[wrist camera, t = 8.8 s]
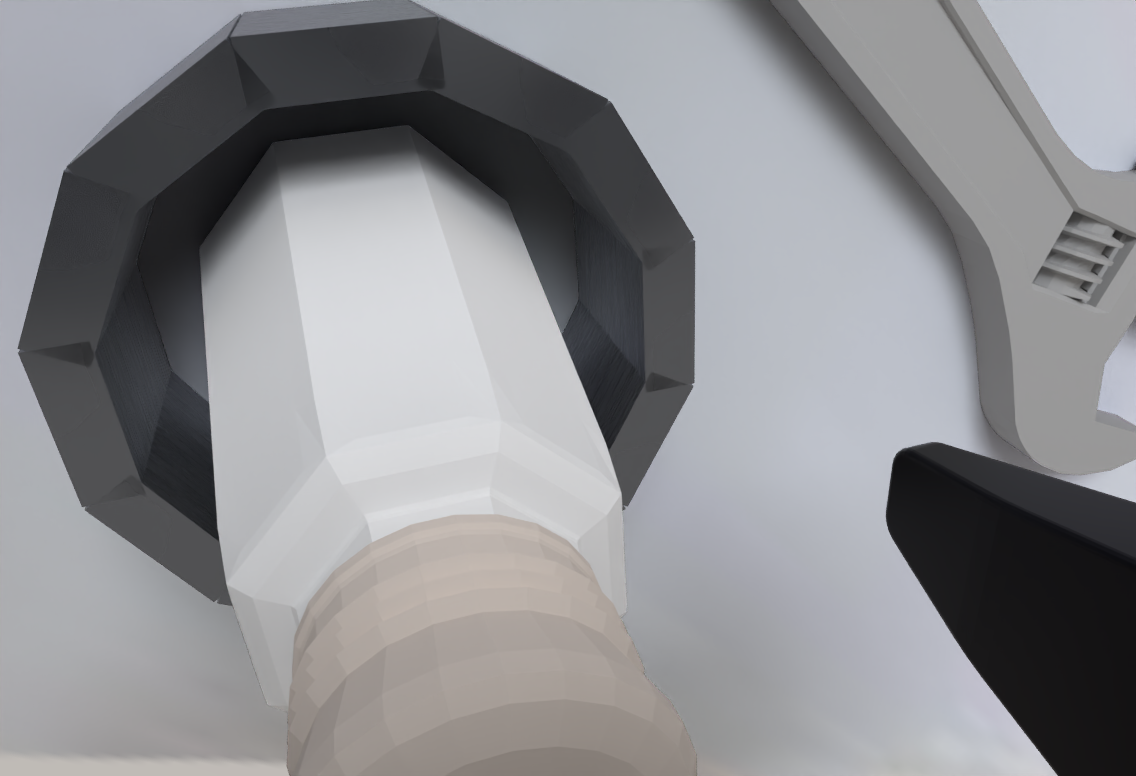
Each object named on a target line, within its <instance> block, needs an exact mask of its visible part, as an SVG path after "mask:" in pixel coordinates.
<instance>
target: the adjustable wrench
mask: <svg viewBox="0 0 1136 776" xmlns="http://www.w3.org/2000/svg"><path fill="white" fill-rule="evenodd" d="M769 1H770V2H771V3H772V4H773V6H774V7H775V8H776V9H777V11H778V12H779V13H780V14H781V15H782V17H783V18H784V19H785V20H786V22H787V23H788V24H789V25H790V27H791V28H792V29H793V30H794V31H795V33H796V34H797V35H798V36H799V38H800V39H801V40H802V41H803V43H804V44H805V45H806V46H807V48H808V49H809V50H810V51H811V52H812V54H813V55H814V56H815V57H816V59H817V60H818V61H819V62H820V64H821V65H822V66H823V67H824V68H825V70H826V71H827V72H828V73H829V75H830V76H831V77H832V78H833V80H834V81H835V82H836V83H837V85H838V86H839V87H840V88H841V89H842V91H843V92H844V93H845V94H846V96H847V97H848V98H849V99H850V101H851V102H852V103H853V104H854V105H855V107H856V108H857V109H858V110H859V112H860V113H861V114H862V115H863V117H864V118H865V119H866V120H867V122H868V123H869V124H870V125H871V126H872V128H873V129H874V130H875V131H876V133H877V134H878V135H879V136H880V138H881V139H882V140H883V141H884V142H885V144H886V145H887V146H888V147H889V149H890V150H891V151H892V152H893V154H894V155H895V156H896V157H897V159H898V160H899V161H900V162H901V163H902V165H903V166H904V167H905V168H906V170H907V171H908V172H909V173H910V175H911V176H912V177H913V178H914V179H915V181H916V182H917V183H918V184H919V186H920V187H921V188H922V189H923V191H924V192H925V193H926V194H927V196H928V197H929V198H930V199H931V200H932V202H933V203H934V204H935V205H936V207H937V209H938V210H939V212H940V213H941V215H942V217H943V218H944V220H945V222H946V223H947V225H948V227H949V228H950V230H951V232H952V234H953V237H954V240H955V243H956V246H957V249H958V252H959V255H960V258H961V260H962V265H963V270H964V275H965V279H966V284H967V289H968V294H969V299H970V304H971V308H972V315H973V322H974V329H975V338H976V352H977V366H978V381H979V395H980V403H981V406H982V409H983V412H984V415H985V417H986V419H987V420H988V422H989V424H990V425H991V427H992V428H993V430H994V431H995V432H996V434H998V435H999V436H1000V437H1001V438H1003V439H1004V440H1005V441H1007V442H1008V443H1009V444H1011V445H1012V446H1014V447H1015V448H1017V449H1018V450H1019V451H1021V452H1022V453H1024V454H1025V455H1026V456H1028V457H1029V458H1031V459H1032V460H1034V461H1035V462H1036V463H1038V464H1039V465H1041V466H1043V467H1046V468H1048V469H1050V470H1053V471H1055V472H1058V473H1060V474H1071V475H1085V474H1091V473H1098V472H1104V471H1111V470H1113V469H1115V468H1117V467H1120V466H1122V465H1124V464H1126V463H1129V462H1131V461H1133V460H1135V459H1136V426H1135V425H1133V424H1132V423H1130V422H1128V421H1126V420H1125V419H1123V418H1121V417H1119V416H1118V415H1115V414H1111V413H1108V412H1104V411H1101V410H1097V407H1098V401H1099V395H1100V389H1101V382H1102V376H1103V370H1104V364H1105V363H1106V361H1107V360H1108V358H1109V357H1110V355H1111V354H1112V352H1113V351H1114V349H1115V348H1116V346H1117V345H1118V343H1119V342H1120V340H1121V339H1122V337H1123V335H1124V334H1125V332H1126V331H1127V329H1128V328H1129V326H1130V324H1131V323H1132V321H1133V320H1134V318H1135V316H1136V169H1134V170H1130V171H1120V172H1112V171H1103V170H1095V169H1091V168H1090V167H1089V166H1087V165H1086V164H1085V163H1084V162H1082V161H1081V160H1080V159H1079V158H1077V157H1076V156H1075V155H1074V154H1073V153H1072V151H1071V150H1070V149H1069V148H1068V147H1067V145H1066V144H1065V143H1064V142H1063V141H1062V139H1061V138H1060V137H1059V136H1058V135H1057V133H1056V131H1055V130H1054V128H1053V126H1052V125H1051V123H1050V121H1049V120H1048V118H1047V116H1046V115H1045V113H1044V112H1043V110H1042V108H1041V107H1040V105H1039V103H1038V102H1037V100H1036V98H1035V97H1034V95H1033V93H1032V92H1031V90H1030V88H1029V87H1028V85H1027V83H1026V82H1025V80H1024V78H1023V77H1022V75H1021V73H1020V72H1019V70H1018V68H1017V67H1016V65H1015V63H1014V62H1013V60H1012V58H1011V57H1010V55H1009V53H1008V52H1007V50H1006V48H1005V47H1004V45H1003V43H1002V42H1001V40H1000V38H999V37H998V35H997V33H996V32H995V30H994V28H993V27H992V25H991V23H990V22H989V20H988V19H987V17H986V15H985V14H984V12H983V10H982V9H981V7H980V5H979V4H978V2H977V0H769Z"/></svg>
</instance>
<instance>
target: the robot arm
mask: <svg viewBox="0 0 1136 776" xmlns="http://www.w3.org/2000/svg"><path fill="white" fill-rule="evenodd" d="M886 522H887V526H888V530H889V532H890V535H891V537H892V539H893V541H894V542H895V544H896V545H897V547H898V549H899V550H900V552H901V553H902V555H903V557H904V558H905V560H906V561H907V563H908V565H909V566H910V568H911V569H912V571H913V573H914V574H915V576H916V577H917V579H918V581H919V582H920V584H921V585H922V587H923V589H924V590H925V592H926V593H927V595H928V597H929V598H930V600H931V601H932V603H933V605H934V606H935V608H936V609H937V611H938V613H939V614H940V616H941V617H942V619H943V621H944V622H945V624H946V625H947V627H948V629H949V630H950V632H951V633H952V635H953V637H954V638H955V640H956V641H957V643H958V644H959V646H960V647H961V649H962V650H963V652H964V653H965V655H966V656H967V658H968V659H969V660H970V662H971V663H972V665H973V666H974V667H975V669H976V670H977V671H978V673H979V674H980V675H981V677H982V678H983V679H984V681H985V682H986V683H987V685H988V686H989V687H990V689H991V690H992V691H993V692H994V694H995V695H996V696H997V698H998V699H999V700H1000V701H1001V703H1002V704H1003V705H1004V707H1005V708H1006V709H1007V711H1008V712H1009V713H1010V714H1011V716H1012V717H1013V718H1014V720H1015V721H1016V722H1017V723H1018V725H1019V726H1020V727H1021V729H1022V730H1023V731H1024V733H1025V734H1026V735H1027V736H1028V738H1029V739H1030V740H1031V742H1032V743H1033V744H1034V745H1035V747H1036V748H1037V749H1038V751H1039V752H1040V753H1041V755H1042V756H1043V757H1044V758H1045V760H1046V761H1047V762H1048V764H1049V765H1050V766H1051V767H1052V769H1053V770H1054V771H1055V773H1056V774H1057V775H1058V776H1136V503H1135V502H1131V501H1128V500H1125V499H1122V498H1118V497H1115V496H1112V495H1109V494H1105V493H1102V492H1099V491H1096V490H1092V489H1089V488H1086V487H1083V486H1079V485H1076V484H1073V483H1070V482H1066V481H1063V480H1060V479H1057V478H1053V477H1050V476H1047V475H1044V474H1040V473H1037V472H1034V471H1031V470H1027V469H1024V468H1021V467H1018V466H1014V465H1011V464H1008V463H1005V462H1001V461H998V460H995V459H991V458H988V457H985V456H982V455H978V454H975V453H972V452H969V451H965V450H962V449H959V448H956V447H952V446H949V445H946V444H943V443H939V442H930V443H925V444H921V445H917V446H912V447H908V448H904V449H902V450H900V451H899V452H898V453H897V454H896V456H895V458H894V460H893V464H892V472H891V479H890V486H889V493H888V501H887V508H886Z"/></svg>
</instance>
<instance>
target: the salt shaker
mask: <svg viewBox="0 0 1136 776" xmlns="http://www.w3.org/2000/svg"><path fill="white" fill-rule="evenodd" d="M199 253H200V269H201V284H202V299H203V314H204V330H205V345H206V360H207V375H208V390H209V406H210V421H211V436H212V451H213V467H214V482H215V497H216V512H217V527H218V534H219V541H220V547H221V553H222V560H223V566H224V572H225V578H226V585H227V588H228V592H229V596H230V599H231V602H232V605H233V608H234V611H235V614H236V617H237V620H238V623H239V626H240V629H241V632H242V635H243V638H244V640H245V643H246V646H247V649H248V652H249V655H250V658H251V661H252V664H253V667H254V670H255V673H256V676H257V679H258V681H259V684H260V687H261V690H262V692H263V695H264V698H265V700H266V703H267V705H268V706H271V707H274V708H277V709H280V710H283V711H286V712H288V722H287V723H288V736H287V745H288V752H287V769H288V772H289V775H290V776H697V755H696V752H695V750H694V748H693V745H692V743H691V740H690V738H689V735H688V733H687V731H686V728H685V726H684V723H683V722H682V720H681V718H680V716H679V715H678V713H677V711H676V710H675V708H674V706H673V705H672V703H671V701H670V700H669V699H668V698H667V697H666V696H665V695H664V694H663V693H662V692H661V691H660V690H659V689H658V688H657V687H656V686H655V685H654V684H653V683H652V682H651V681H650V680H649V679H648V678H647V677H646V676H645V675H644V667H643V664H642V662H641V660H640V657H639V655H638V653H637V650H636V648H635V646H634V643H633V641H632V639H631V637H630V636H629V635H628V633H627V630H626V628H625V626H624V624H623V621H622V620H621V618H622V617H623V616H624V615H625V614H626V613H627V595H626V574H625V553H624V533H623V512H622V493H621V490H620V487H619V484H618V481H617V477H616V474H615V471H614V468H613V464H612V461H611V458H610V455H609V452H608V448H607V445H606V443H605V440H604V438H603V435H602V433H601V430H600V428H599V425H598V423H597V420H596V418H595V416H594V413H593V411H592V408H591V406H590V403H589V401H588V398H587V396H586V393H585V391H584V389H583V386H582V384H581V381H580V379H579V376H578V374H577V371H576V369H575V366H574V364H573V362H572V359H571V357H570V354H569V352H568V349H567V347H566V344H565V342H564V339H563V337H562V335H561V332H560V330H559V327H558V325H557V322H556V320H555V317H554V315H553V312H552V310H551V308H550V305H549V303H548V300H547V298H546V295H545V293H544V290H543V288H542V285H541V283H540V281H539V278H538V276H537V273H536V271H535V268H534V266H533V263H532V261H531V258H530V256H529V254H528V251H527V249H526V246H525V244H524V241H523V239H522V236H521V234H520V231H519V229H518V227H517V224H516V222H515V219H514V217H513V214H512V212H511V209H510V207H509V204H508V202H507V201H506V200H504V199H503V198H502V197H500V196H499V195H498V194H497V193H495V192H494V191H493V190H491V189H490V188H489V187H488V186H486V185H485V184H484V183H482V182H481V181H480V180H478V179H477V178H476V177H475V176H473V175H472V174H471V173H469V172H468V171H467V170H466V169H464V168H463V167H462V166H460V165H459V164H458V163H456V162H455V161H454V160H453V159H451V158H450V157H449V156H447V155H446V154H445V153H444V152H442V151H441V150H440V149H438V148H437V147H436V146H434V145H433V144H432V143H431V142H429V141H428V140H427V139H425V138H424V137H423V136H422V135H420V134H419V133H418V132H416V131H415V130H414V129H412V128H411V127H410V126H409V125H404V126H396V127H388V128H380V129H372V130H364V131H357V132H349V133H341V134H333V135H325V136H317V137H310V138H302V139H294V140H286V141H278V142H273V143H272V145H271V146H270V147H269V149H268V150H267V152H266V153H265V155H264V156H263V157H262V159H261V160H260V162H259V163H258V165H257V166H256V167H255V169H254V170H253V172H252V173H251V175H250V176H249V177H248V179H247V180H246V182H245V183H244V185H243V186H242V187H241V189H240V190H239V192H238V193H237V195H236V196H235V198H234V199H233V200H232V202H231V203H230V205H229V206H228V208H227V209H226V210H225V212H224V213H223V215H222V216H221V218H220V219H219V220H218V222H217V223H216V225H215V226H214V228H213V229H212V230H211V232H210V233H209V235H208V236H207V238H206V239H205V240H204V242H203V243H202V245H201V246H200V248H199Z"/></svg>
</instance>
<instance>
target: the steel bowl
mask: <svg viewBox="0 0 1136 776" xmlns="http://www.w3.org/2000/svg"><path fill="white" fill-rule="evenodd" d="M426 90H432V91H434V92H436V93H438V94H441V95H443V96H445V97H447V98H449V99H452V100H454V101H456V102H458V103H460V104H463V105H465V106H467V107H469V108H472V109H474V110H476V111H478V112H480V113H483V114H485V115H487V116H489V117H492V118H494V119H496V120H498V121H500V122H503V123H505V124H507V125H509V126H512V127H514V128H516V129H518V130H520V131H523V132H525V133H527V134H529V135H530V136H531V138H532V139H533V141H534V142H535V144H536V145H537V147H538V148H539V150H540V151H541V153H542V154H543V155H544V157H545V158H546V160H547V161H548V163H549V164H550V166H551V167H552V169H553V170H554V171H555V173H556V174H557V176H558V177H559V179H560V180H561V182H562V183H563V185H564V186H565V187H566V189H567V190H568V192H569V193H570V195H571V196H572V198H573V209H574V225H575V240H576V256H577V271H578V286H579V301H578V303H577V305H576V307H575V310H574V312H573V314H572V316H571V318H570V320H569V322H568V324H567V326H566V328H565V330H564V332H563V334H562V337H563V339H564V342H565V344H566V347H567V349H568V352H569V354H570V357H571V359H572V362H573V364H574V366H575V369H576V371H577V374H578V376H579V379H580V381H581V384H582V386H583V389H584V391H585V393H586V396H587V398H588V401H589V403H590V406H591V408H592V411H593V413H594V416H595V418H596V420H597V423H598V425H599V428H600V430H601V433H602V435H603V438H604V440H605V443H606V445H607V448H608V452H609V455H610V458H611V461H612V464H613V468H614V471H615V474H616V477H617V481H618V484H619V487H620V490H621V493H622V511H623V510H625V507H624V505H625V506H628V505H629V503H630V501H631V499H632V498H633V496H634V494H635V492H636V490H637V488H638V487H639V485H640V483H641V481H642V479H643V477H644V476H645V474H646V472H647V470H648V468H649V467H650V465H651V463H652V461H653V459H654V457H655V456H656V454H657V452H658V450H659V448H660V446H661V445H662V443H663V441H664V439H665V437H666V436H667V434H668V432H669V430H670V428H671V426H672V425H673V423H674V421H675V419H676V417H677V415H678V414H679V412H680V410H681V408H682V406H683V404H684V403H685V401H686V399H687V397H688V395H689V394H690V392H691V390H692V388H693V385H692V383H694V345H695V241H694V240H693V238H694V237H693V235H692V234H691V232H690V230H689V229H688V227H687V225H686V224H685V222H684V220H683V219H682V217H681V216H680V214H679V212H678V211H677V209H676V207H675V206H674V204H673V202H672V201H671V199H670V198H669V196H668V194H667V193H666V191H665V189H664V188H663V186H662V184H661V183H660V181H659V180H658V178H657V176H656V175H655V173H654V171H653V170H652V168H651V166H650V165H649V163H648V162H647V160H646V158H645V157H644V155H643V153H642V152H641V150H640V149H639V147H638V145H637V144H636V142H635V140H634V139H633V137H632V135H631V134H630V132H629V131H628V129H627V127H626V126H625V124H624V122H623V121H622V119H621V117H620V116H619V114H618V113H617V111H616V109H615V108H614V106H613V104H612V103H611V102H610V101H608V99H606V98H604V97H602V96H601V95H599V94H597V93H595V92H593V91H591V90H589V89H587V88H585V87H583V86H581V85H579V84H577V83H575V82H573V81H571V80H570V79H568V78H566V77H564V76H562V75H560V74H558V73H556V72H554V71H552V70H550V69H548V68H546V67H544V66H542V65H540V64H538V63H536V62H534V61H532V60H530V59H528V58H526V57H524V56H522V55H520V54H518V53H516V52H514V51H512V50H510V49H508V48H506V47H504V46H502V45H500V44H498V43H496V42H494V41H492V40H490V39H488V38H486V37H484V36H482V35H480V34H478V33H475V32H473V31H471V30H469V29H467V28H465V27H463V26H461V25H459V24H457V23H455V22H453V21H451V20H449V19H447V18H445V17H443V16H441V15H439V14H437V13H435V12H433V11H431V10H429V9H427V8H425V7H423V6H421V5H419V4H417V3H415V2H413V1H411V0H372V1H361V2H350V3H340V4H329V5H318V6H308V7H297V8H286V9H275V10H265V11H254V12H244V13H243V15H241V14H240V15H238V16H237V17H236V18H235V19H233V20H232V21H231V22H230V23H228V24H227V25H226V26H225V27H223V28H222V29H221V30H220V31H218V32H217V33H216V34H215V35H213V36H212V37H211V38H210V39H209V40H207V41H206V42H205V43H204V44H202V45H201V46H200V47H199V48H197V49H196V50H195V51H194V52H192V53H191V54H190V55H189V56H187V57H186V58H185V59H184V60H182V61H181V62H180V63H179V64H178V65H176V66H175V67H174V68H173V69H171V70H170V71H169V72H168V73H166V74H165V75H164V76H163V77H161V78H160V79H159V80H158V81H156V82H155V83H154V84H153V85H151V86H150V87H149V88H148V89H146V90H145V91H144V92H143V93H142V94H140V95H139V96H138V97H137V98H135V99H134V100H133V101H132V102H130V103H129V104H128V105H127V106H125V107H124V108H123V109H122V110H120V111H119V112H118V113H117V114H116V115H115V116H114V117H113V118H112V119H111V120H110V122H109V123H108V124H107V125H106V126H105V127H104V128H103V129H102V130H101V131H100V132H99V133H98V134H97V135H96V136H95V137H94V138H93V139H92V141H91V142H90V143H89V144H88V145H87V146H86V147H85V148H84V149H83V150H82V151H81V152H80V153H79V154H78V155H77V156H76V157H75V158H74V159H73V161H72V162H71V163H70V164H69V165H68V166H67V168H66V169H65V170H64V172H63V176H62V180H61V184H60V188H59V191H58V195H57V199H56V203H55V207H54V211H53V215H52V218H51V222H50V226H49V230H48V234H47V238H46V242H45V245H44V249H43V253H42V257H41V261H40V265H39V268H38V272H37V276H36V280H35V284H34V288H33V292H32V295H31V299H30V303H29V307H28V311H27V315H26V319H25V322H24V326H23V330H22V334H21V338H20V342H19V346H18V349H20V351H19V352H18V354H19V356H20V359H21V361H22V364H23V366H24V368H25V371H26V373H27V376H28V378H29V380H30V383H31V385H32V388H33V390H34V392H35V395H36V397H37V400H38V402H39V404H40V407H41V409H42V412H43V414H44V417H45V419H46V421H47V424H48V426H49V429H50V431H51V433H52V436H53V438H54V441H55V443H56V445H57V448H58V450H59V453H60V455H61V457H62V460H63V462H64V465H65V467H66V469H67V472H68V474H69V477H70V479H71V481H72V484H73V486H74V489H75V491H76V493H77V496H78V498H79V501H80V503H81V505H82V507H85V506H86V508H85V511H87V512H88V513H90V514H91V515H92V516H94V517H95V518H97V519H98V520H99V521H101V522H102V523H104V524H105V525H106V526H108V527H109V528H111V529H112V530H113V531H115V532H116V533H118V534H119V535H120V536H122V537H123V538H125V539H126V540H127V541H129V542H130V543H132V544H133V545H135V546H136V547H137V548H139V549H140V550H142V551H143V552H144V553H146V554H147V555H149V556H150V557H151V558H153V559H154V560H156V561H157V562H158V563H160V564H161V565H163V566H164V567H165V568H167V569H168V570H170V571H171V572H172V573H174V574H175V575H177V576H178V577H180V578H181V579H182V580H184V581H185V582H187V583H188V584H189V585H191V586H192V587H194V588H195V589H196V590H198V591H199V592H201V593H202V594H203V595H205V596H206V597H208V598H209V599H210V600H212V601H213V602H214V601H216V600H217V599H218V601H217V603H219V604H225V605H231V606H233V605H232V602H231V599H230V596H229V592H228V588H227V585H226V578H225V572H224V566H223V560H222V553H221V547H220V541H219V534H218V527H217V512H216V497H215V482H214V467H213V451H212V436H211V421H210V406H209V403H208V402H207V401H206V400H204V399H203V398H202V397H201V396H200V395H199V394H198V393H196V392H195V391H194V390H193V389H192V388H191V387H189V386H188V385H187V384H186V383H185V382H184V381H183V380H181V379H180V378H179V377H178V376H177V375H176V374H174V373H173V372H172V371H171V368H170V365H169V362H168V359H167V356H166V353H165V349H164V346H163V343H162V340H161V337H160V334H159V331H158V328H157V325H156V322H155V319H154V316H153V312H152V309H151V306H150V303H149V300H148V297H147V294H146V291H145V288H144V285H143V282H142V278H141V275H140V272H139V269H138V266H137V259H138V256H139V253H140V249H141V246H142V243H143V239H144V236H145V233H146V229H147V226H148V223H149V219H150V216H151V213H152V209H153V206H154V202H155V199H156V196H157V195H158V194H159V193H160V192H162V191H163V190H164V189H165V188H167V187H168V186H169V185H170V184H172V183H173V182H174V181H175V180H177V179H178V178H179V177H180V176H182V175H183V174H184V173H185V172H187V171H188V170H189V169H190V168H192V167H193V166H194V165H195V164H197V163H198V162H199V161H201V160H202V159H203V158H204V157H206V156H207V155H208V154H209V153H211V152H212V151H213V150H214V149H216V148H217V147H218V146H219V145H221V144H222V143H223V142H224V141H226V140H227V139H228V138H229V137H231V136H232V135H233V134H234V133H236V132H237V131H238V130H239V129H241V128H242V127H243V126H244V125H246V124H247V123H248V122H249V121H251V120H252V119H253V118H255V117H256V116H257V115H258V114H260V113H261V112H262V111H263V110H265V109H272V108H281V107H289V106H298V105H307V104H315V103H324V102H332V101H341V100H349V99H358V98H366V97H375V96H384V95H392V94H401V93H409V92H418V91H426Z"/></svg>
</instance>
